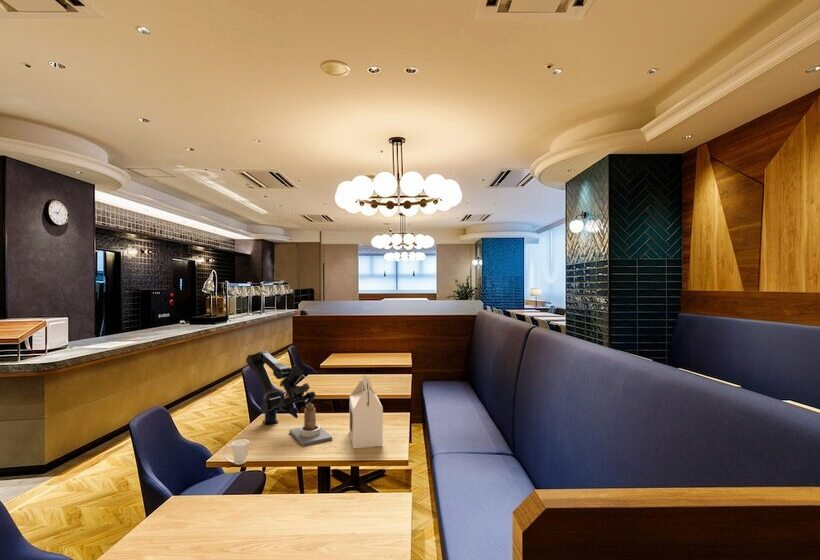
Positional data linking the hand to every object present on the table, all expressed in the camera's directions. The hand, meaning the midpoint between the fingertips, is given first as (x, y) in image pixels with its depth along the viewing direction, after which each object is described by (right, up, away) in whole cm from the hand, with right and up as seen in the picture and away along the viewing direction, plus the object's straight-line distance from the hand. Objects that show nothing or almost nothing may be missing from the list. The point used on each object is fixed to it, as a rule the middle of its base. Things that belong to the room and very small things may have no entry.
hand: (305, 415), depth 200 cm
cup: (-20, -9, -31) cm, 38 cm away
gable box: (+29, -10, -5) cm, 31 cm away
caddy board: (+3, -9, -2) cm, 10 cm away
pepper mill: (+3, -8, -2) cm, 9 cm away
